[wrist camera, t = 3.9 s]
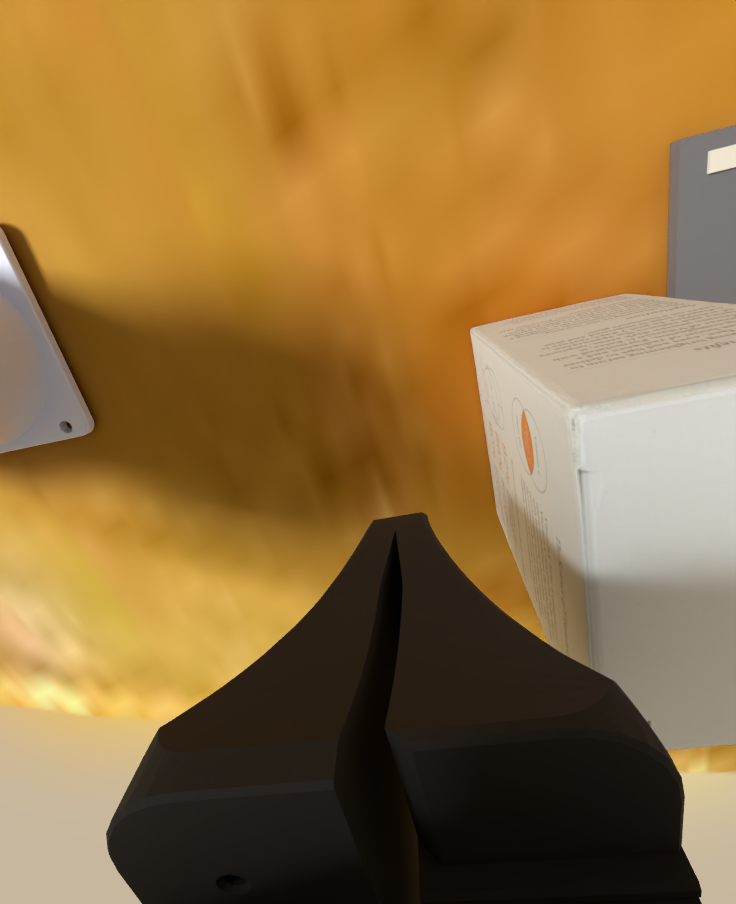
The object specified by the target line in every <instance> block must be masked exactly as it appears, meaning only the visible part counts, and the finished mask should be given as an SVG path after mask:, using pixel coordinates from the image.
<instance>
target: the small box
mask: <svg viewBox="0 0 736 904" xmlns="http://www.w3.org/2000/svg"><path fill="white" fill-rule="evenodd" d="M470 335H471V340H472V346H473V353H474V360H475V366H476V373H477V380H478V387H479V394H480V400H481V407H482V414H483V420H484V427H485V434H486V441H487V448H488V455H489V461H490V467H491V474H492V481H493V488H494V495H495V503H496V512H497V515H498V517H499V520H500V523H501V525H502V528H503V531H504V533H505V536H506V539H507V541H508V544H509V546H510V549H511V551H512V554H513V556H514V559H515V561H516V564H517V566H518V569H519V571H520V574H521V577H522V579H523V581H524V584H525V587H526V589H527V592H528V594H529V597H530V599H531V602H532V604H533V606H534V609H535V611H536V614H537V617H538V619H539V621H540V623H541V626H542V629H543V631H544V633H545V636H546V638H547V640H548V643H549V645H550V646H552V647H553V648H555V649H556V650H558V651H559V652H561V653H563V654H564V655H566V656H568V657H570V658H572V659H574V660H576V661H578V662H579V663H581V664H583V665H585V666H587V667H589V668H591V669H593V670H595V671H596V672H598V673H600V674H602V675H604V676H606V677H608V678H610V679H612V680H613V681H615V682H616V683H617V684H618V685H619V687H620V688H621V689H622V690H623V691H624V693H625V694H626V695H627V696H628V698H629V699H630V700H631V701H632V703H633V704H634V705H635V706H636V708H637V709H638V710H639V712H640V713H641V714H642V716H643V717H644V718H645V720H646V721H647V723H648V724H649V725H650V727H651V728H652V730H653V731H654V732H655V734H656V735H657V737H658V738H659V740H660V741H661V743H662V744H663V745H664V747H665V749H666V750H675V749H688V748H699V747H709V746H720V745H735V744H736V304H729V303H715V302H705V301H696V300H685V299H676V298H668V297H658V296H648V295H636V294H622V295H616V296H611V297H606V298H601V299H597V300H592V301H587V302H583V303H578V304H573V305H569V306H565V307H560V308H556V309H551V310H547V311H542V312H538V313H533V314H529V315H525V316H520V317H516V318H511V319H507V320H502V321H498V322H494V323H490V324H486V325H482V326H477V327H474V328H472V329H471V330H470Z"/></svg>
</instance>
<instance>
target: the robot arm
mask: <svg viewBox="0 0 736 904" xmlns="http://www.w3.org/2000/svg"><path fill="white" fill-rule="evenodd" d="M66 421H67V422H68V423H70V424H71V426H72V430H71V429H70V428H68V426H67V425H66ZM94 425H95V424H94V420H93V418H92V416H91V414H90V412H89V410H88V407H87V405H86V403H85V401H84V399H83V397H82V395H81V393H80V391H79V389H78V386H77V384H76V382H75V380H74V378H73V376H72V374H71V372H70V370H69V368H68V365H67V363H66V361H65V359H64V357H63V355H62V353H61V351H60V349H59V347H58V345H57V342H56V340H55V338H54V336H53V334H52V332H51V330H50V328H49V326H48V324H47V321H46V319H45V317H44V315H43V313H42V311H41V309H40V307H39V305H38V303H37V300H36V298H35V296H34V294H33V292H32V290H31V288H30V286H29V284H28V282H27V279H26V277H25V275H24V273H23V271H22V269H21V267H20V265H19V263H18V261H17V259H16V256H15V254H14V252H13V250H12V248H11V246H10V244H9V242H8V240H7V238H6V235H5V233H4V232H3V230H2V229H1V227H0V453H4V452H9V451H14V450H18V449H23V448H28V447H33V446H37V445H42V444H47V443H52V442H56V441H61V440H66V439H71V438H75V437H80V436H84V435H86V434H88V433H90V432H92V430H93V429H94ZM683 813H684V790H683V784H682V777H681V776H680V774H679V772H678V771H677V769H676V767H675V765H674V763H673V760H672V759H671V757H670V755H669V754H668V752H667V750H666V749H665V747H664V745H663V744H662V743H661V741H660V740H659V738H658V737H657V735H656V734H655V732H654V731H653V730H652V728H651V727H650V725H649V724H648V723H647V721H646V720H645V718H644V717H643V716H642V714H641V713H640V712H639V710H638V709H637V708H636V706H635V705H634V704H633V703H632V701H631V700H630V699H629V698H628V696H627V695H626V694H625V693H624V691H623V690H622V689H621V688H620V687H619V685H618V684H617V683H616V682H615V681H613V680H612V679H610V678H608V677H606V676H604V675H602V674H600V673H598V672H596V671H595V670H593V669H591V668H589V667H587V666H585V665H583V664H581V663H579V662H578V661H576V660H574V659H572V658H570V657H568V656H566V655H564V654H563V653H561V652H559V651H558V650H556V649H555V648H553V647H552V646H550V645H548V644H547V643H545V642H544V641H542V640H541V639H539V638H538V637H537V636H535V635H534V634H533V633H531V632H530V631H528V630H527V629H526V628H524V627H523V626H522V625H520V624H519V623H518V622H516V621H515V620H513V619H512V618H511V617H509V616H508V615H507V614H506V613H505V612H503V611H502V610H501V609H500V608H499V607H498V606H496V605H495V604H494V603H493V602H492V601H491V600H490V599H488V598H487V597H486V596H485V595H484V594H483V593H482V592H481V591H480V590H479V589H478V588H477V587H476V586H475V585H474V584H473V583H472V582H471V581H470V580H469V579H468V578H467V576H466V575H465V574H464V573H463V572H462V571H461V570H460V568H459V567H458V566H457V565H456V564H455V562H454V561H453V560H452V559H451V557H450V556H449V555H448V553H447V552H446V550H445V549H444V548H443V546H442V545H441V543H440V542H439V540H438V539H437V537H436V535H435V534H434V532H433V530H432V528H431V526H430V524H429V521H428V517H427V515H425V514H424V513H422V512H421V513H415V514H409V515H403V516H397V517H391V518H385V519H378V520H374V521H373V522H372V523H371V525H370V526H369V528H368V530H367V531H366V533H365V535H364V537H363V538H362V540H361V542H360V543H359V545H358V546H357V548H356V550H355V551H354V553H353V554H352V556H351V557H350V559H349V560H348V562H347V563H346V565H345V566H344V568H343V569H342V571H341V572H340V574H339V575H338V576H337V578H336V579H335V580H334V582H333V583H332V584H331V586H330V587H329V588H328V590H327V591H326V592H325V594H324V595H323V596H322V597H321V599H320V600H319V601H318V602H317V603H316V604H315V606H314V607H313V608H312V609H311V610H310V611H309V612H308V613H307V614H306V615H305V616H304V617H303V618H302V619H301V621H300V622H299V623H298V624H297V625H296V626H295V627H294V628H293V629H291V630H290V631H289V632H288V633H287V634H286V635H285V636H284V637H283V638H282V639H280V640H279V641H278V642H277V643H276V644H275V645H274V646H273V647H272V648H271V649H269V650H268V651H267V652H266V653H265V654H264V655H263V656H262V657H260V658H259V659H258V660H257V661H255V662H254V663H253V664H252V665H250V666H249V667H248V668H247V669H245V670H244V671H243V672H242V673H240V674H239V675H238V676H236V677H235V678H234V679H232V680H231V681H230V682H228V683H227V684H226V685H224V686H223V687H221V688H220V689H219V690H217V691H216V692H214V693H213V694H211V695H210V696H208V697H207V698H205V699H204V700H202V701H201V702H199V703H198V704H196V705H195V706H193V707H192V708H190V709H189V710H187V711H185V712H184V713H182V714H181V715H179V716H178V717H176V718H175V719H173V720H172V721H170V722H168V723H167V724H165V725H163V726H162V727H160V728H159V730H158V731H157V733H156V735H155V737H154V738H153V740H152V742H151V744H150V746H149V748H148V750H147V751H146V754H145V755H144V757H143V759H142V761H141V763H140V765H139V767H138V769H137V771H136V773H135V775H134V777H133V779H132V781H131V783H130V785H129V786H128V788H127V790H126V792H125V794H124V796H123V798H122V800H121V802H120V804H119V806H118V808H117V810H116V812H115V814H114V816H113V818H112V820H111V823H110V825H109V828H108V830H107V833H106V835H107V845H108V852H109V855H110V857H111V859H112V861H113V863H114V865H115V866H116V869H117V870H118V872H119V873H120V875H121V876H122V877H123V879H124V880H125V881H126V883H127V884H128V885H129V887H130V888H131V889H132V891H133V892H134V893H135V895H136V896H137V897H138V899H139V900H140V901H141V903H142V904H702V903H701V901H700V899H699V897H701V888H700V884H699V881H698V879H697V877H696V875H695V873H694V871H693V869H692V867H691V865H690V863H689V860H688V858H687V856H686V854H685V852H684V850H683V848H682V846H681V844H682V828H683Z"/></svg>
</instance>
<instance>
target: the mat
mask: <svg viewBox="0 0 736 904" xmlns="http://www.w3.org/2000/svg"><path fill="white" fill-rule="evenodd" d="M667 297H668V298H676V299H685V300H696V301H705V302H715V303H729V304H736V125H734V126H730V127H726V128H723V129H719V130H715V131H711V132H707V133H703V134H699V135H696V136H692V137H688V138H684V139H680V140H678V141H676V142H673V143H671V146H670V188H669V230H668V271H667Z"/></svg>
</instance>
